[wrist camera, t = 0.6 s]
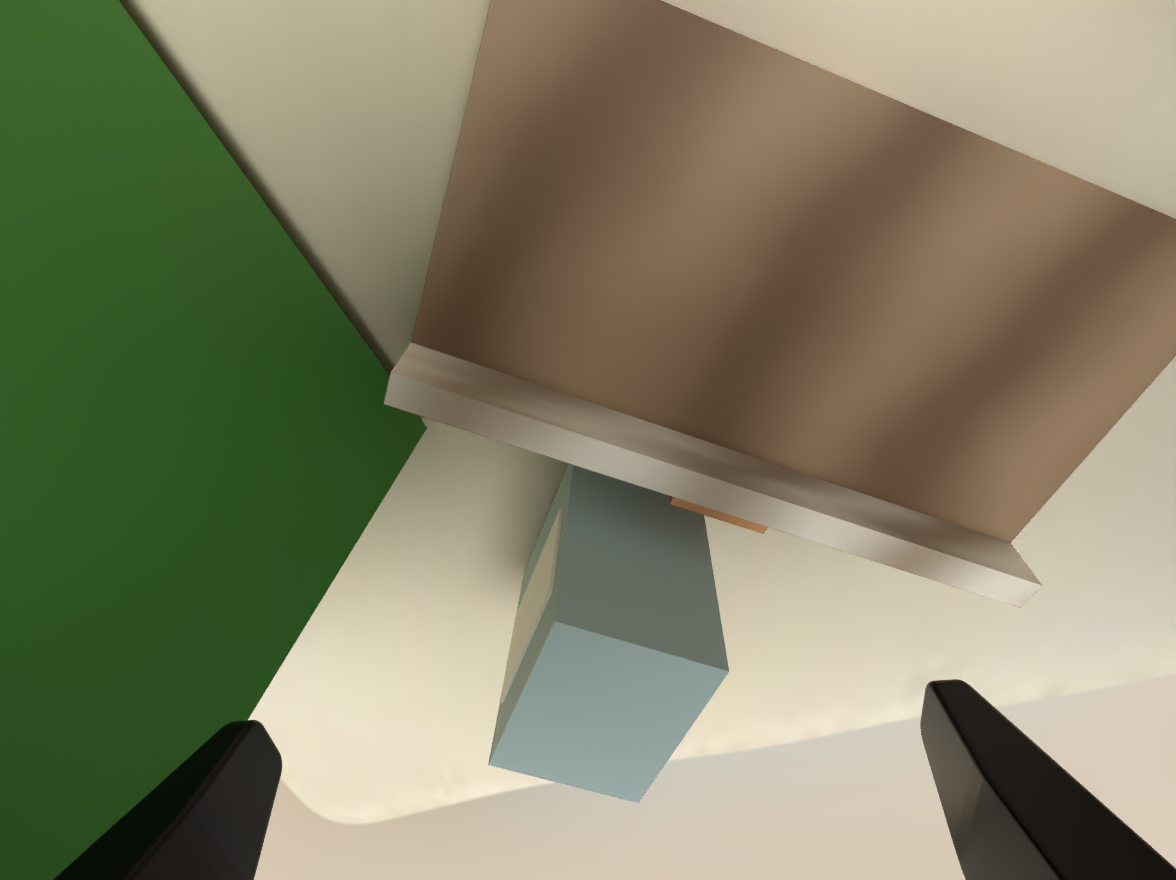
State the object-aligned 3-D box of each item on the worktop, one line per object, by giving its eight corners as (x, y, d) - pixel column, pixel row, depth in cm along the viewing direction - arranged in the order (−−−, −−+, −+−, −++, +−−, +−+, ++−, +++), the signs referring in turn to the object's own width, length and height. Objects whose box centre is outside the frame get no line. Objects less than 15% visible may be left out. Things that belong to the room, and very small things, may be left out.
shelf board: (1219, 240, 19) (1332, 281, 16) (964, 544, 24) (1012, 616, 21) (515, -58, 16) (490, -78, 13) (414, 362, 22) (380, 416, 19)
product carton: (699, 484, 24) (729, 671, 17) (635, 603, 27) (638, 802, 20) (572, 443, 23) (550, 619, 16) (521, 570, 26) (484, 764, 19)
